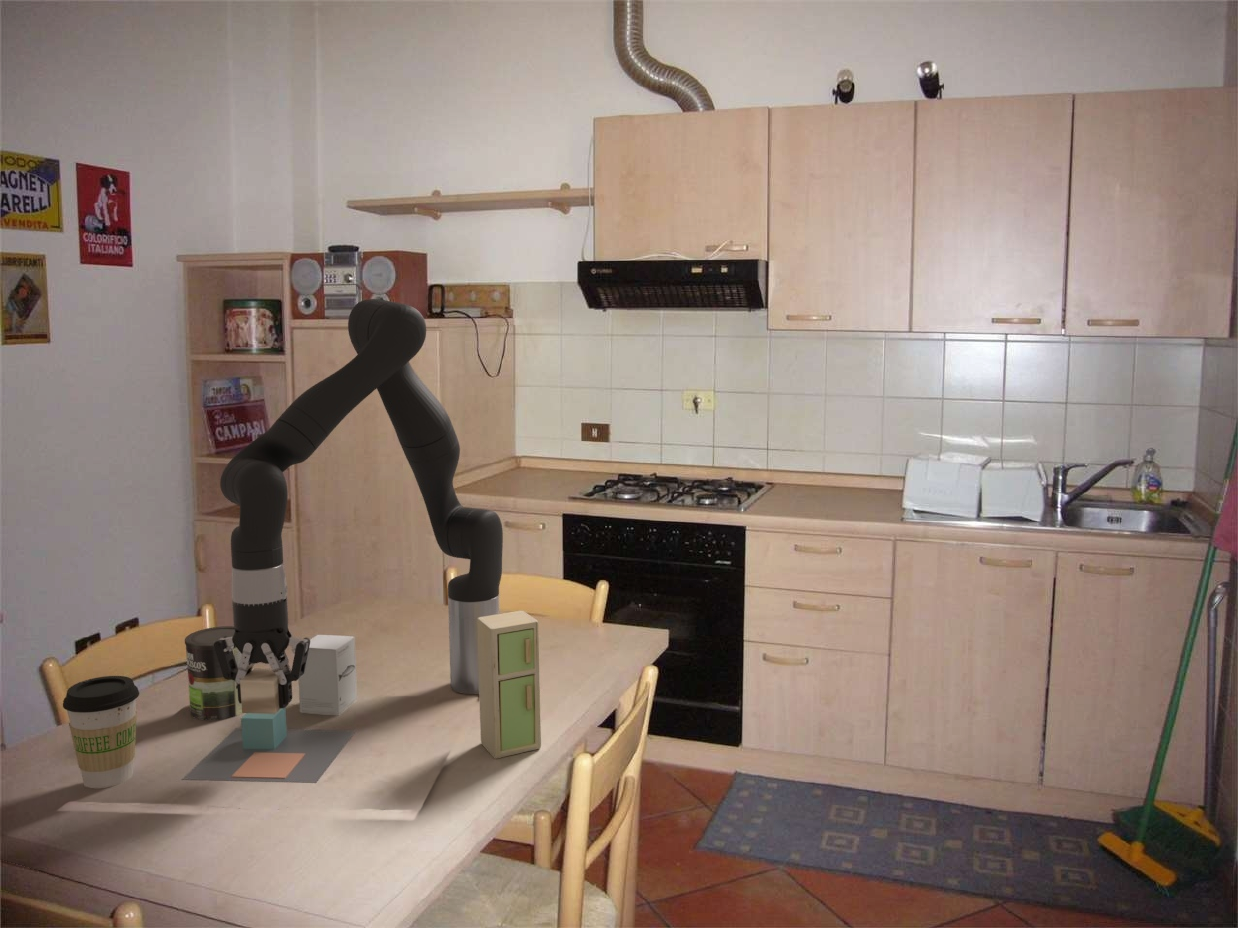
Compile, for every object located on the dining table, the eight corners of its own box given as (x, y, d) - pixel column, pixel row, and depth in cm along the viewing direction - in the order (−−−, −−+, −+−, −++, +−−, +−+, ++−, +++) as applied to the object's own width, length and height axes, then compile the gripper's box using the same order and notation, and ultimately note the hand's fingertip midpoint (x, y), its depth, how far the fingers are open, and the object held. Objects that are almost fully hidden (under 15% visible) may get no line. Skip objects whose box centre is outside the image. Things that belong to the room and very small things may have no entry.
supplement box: (339, 721, 166) (335, 649, 165) (298, 718, 168) (294, 646, 166) (359, 704, 174) (355, 635, 172) (320, 701, 175) (316, 633, 173)
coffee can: (206, 731, 163) (201, 649, 161) (179, 714, 170) (174, 635, 167) (265, 713, 170) (260, 634, 168) (237, 697, 177) (232, 621, 175)
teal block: (286, 735, 158) (285, 706, 158) (274, 749, 153) (272, 718, 153) (256, 735, 159) (254, 705, 158) (242, 748, 154) (241, 718, 153)
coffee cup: (95, 806, 138) (86, 704, 135) (56, 789, 143) (47, 690, 141) (160, 778, 146) (152, 682, 144) (121, 763, 151) (113, 669, 149)
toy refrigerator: (495, 761, 151) (492, 629, 148) (479, 743, 158) (476, 616, 154) (543, 751, 155) (541, 621, 152) (525, 733, 161) (523, 609, 158)
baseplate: (356, 736, 160) (356, 729, 160) (316, 788, 143) (316, 781, 142) (236, 733, 162) (235, 727, 161) (182, 785, 144) (181, 778, 144)
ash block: (275, 713, 144) (273, 680, 143) (242, 713, 144) (240, 680, 143) (288, 700, 149) (287, 668, 148) (256, 699, 149) (254, 668, 148)
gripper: (199, 601, 141) (207, 715, 143) (298, 602, 140) (303, 717, 142) (223, 587, 148) (230, 695, 151) (317, 588, 147) (322, 697, 150)
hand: (265, 705), depth 146 cm, fingers closed on ash block, 5 cm apart
